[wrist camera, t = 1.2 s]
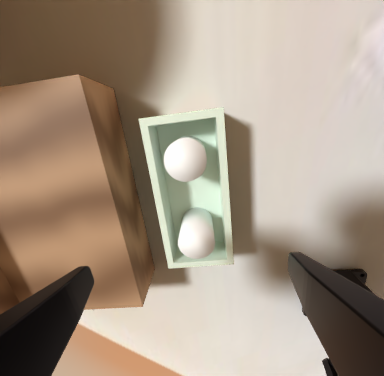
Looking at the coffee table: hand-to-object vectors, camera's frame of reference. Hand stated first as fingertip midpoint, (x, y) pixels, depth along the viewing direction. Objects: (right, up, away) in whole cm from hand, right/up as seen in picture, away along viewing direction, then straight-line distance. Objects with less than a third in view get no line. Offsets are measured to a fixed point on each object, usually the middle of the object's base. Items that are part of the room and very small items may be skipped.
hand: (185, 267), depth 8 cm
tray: (0, +4, +11) cm, 12 cm away
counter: (-12, +2, +12) cm, 17 cm away
